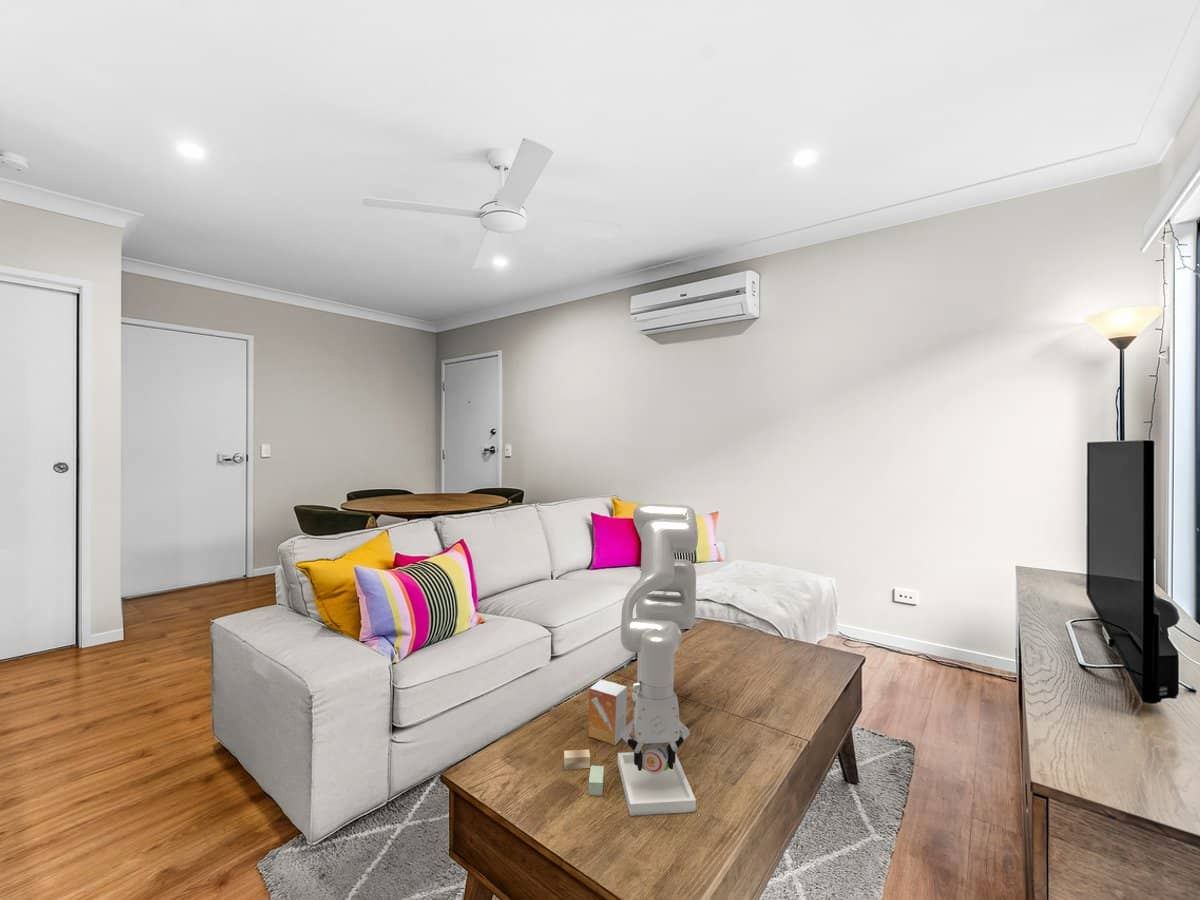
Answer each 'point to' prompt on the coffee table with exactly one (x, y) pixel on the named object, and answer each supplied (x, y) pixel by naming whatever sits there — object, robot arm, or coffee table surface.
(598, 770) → the sage block
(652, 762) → the roller toy
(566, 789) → the coffee table surface
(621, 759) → the tray
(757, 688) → the coffee table surface
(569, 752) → the maple block
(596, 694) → the small box
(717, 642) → the coffee table surface
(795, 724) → the coffee table surface
